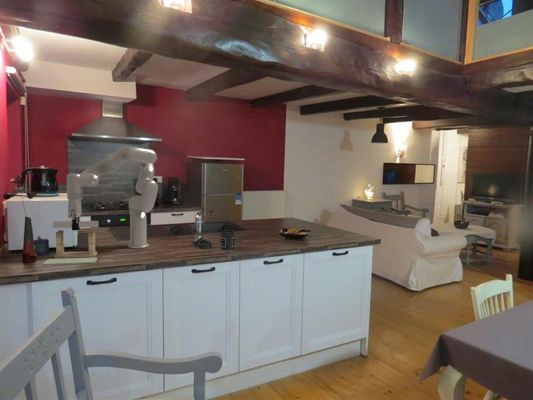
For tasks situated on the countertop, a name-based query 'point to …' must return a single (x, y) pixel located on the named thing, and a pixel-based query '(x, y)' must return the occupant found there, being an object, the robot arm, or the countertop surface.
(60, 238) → the rack
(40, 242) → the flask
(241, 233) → the countertop surface
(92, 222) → the rail
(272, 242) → the countertop surface
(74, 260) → the mat
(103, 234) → the countertop surface
